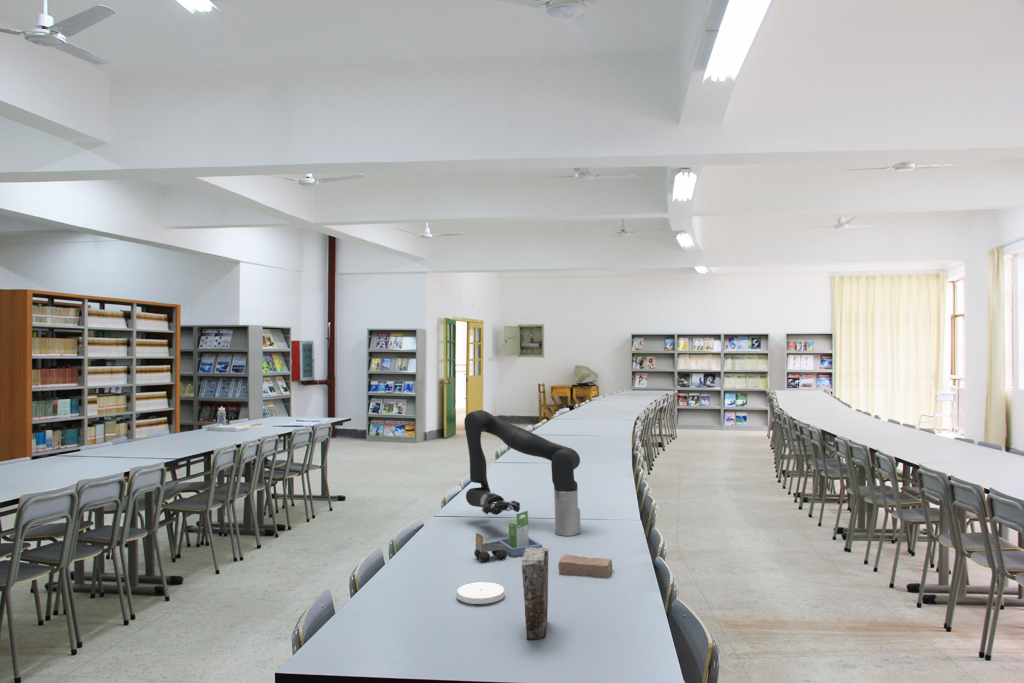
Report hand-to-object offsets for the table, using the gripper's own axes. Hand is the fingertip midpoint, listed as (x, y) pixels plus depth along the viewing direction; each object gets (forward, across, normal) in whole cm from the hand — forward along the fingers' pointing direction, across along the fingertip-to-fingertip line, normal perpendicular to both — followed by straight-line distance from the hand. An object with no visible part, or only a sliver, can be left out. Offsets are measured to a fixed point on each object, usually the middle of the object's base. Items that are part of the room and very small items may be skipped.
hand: (507, 510), depth 261 cm
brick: (+43, +9, +14) cm, 46 cm away
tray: (+11, 0, +12) cm, 16 cm away
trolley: (+16, -14, +12) cm, 24 cm away
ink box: (+11, 0, +12) cm, 16 cm away
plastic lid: (+50, -30, +13) cm, 60 cm away
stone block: (+79, -24, +13) cm, 84 cm away
